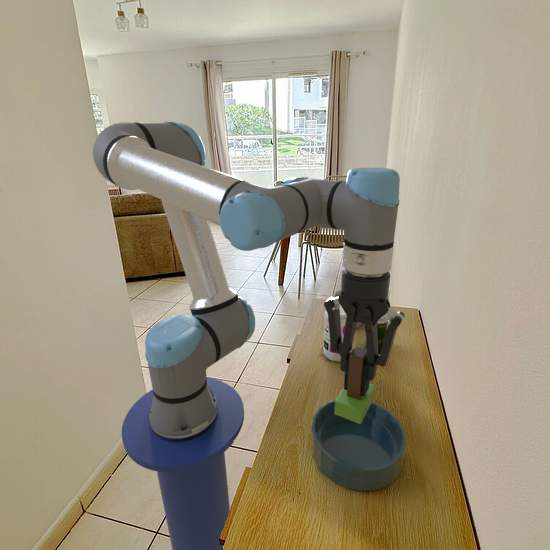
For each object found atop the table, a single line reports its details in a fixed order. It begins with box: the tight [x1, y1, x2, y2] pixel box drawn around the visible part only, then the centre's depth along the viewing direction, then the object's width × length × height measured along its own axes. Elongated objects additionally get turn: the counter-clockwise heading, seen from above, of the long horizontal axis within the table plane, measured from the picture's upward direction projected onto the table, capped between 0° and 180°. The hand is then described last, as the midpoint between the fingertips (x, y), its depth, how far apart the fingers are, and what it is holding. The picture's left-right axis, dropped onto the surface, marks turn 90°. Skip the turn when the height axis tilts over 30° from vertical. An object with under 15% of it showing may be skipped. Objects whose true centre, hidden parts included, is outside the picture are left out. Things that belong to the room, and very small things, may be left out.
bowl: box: [310, 399, 407, 492], centre depth 72 cm, size 18×18×6 cm
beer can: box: [364, 314, 388, 355], centre depth 103 cm, size 5×5×12 cm
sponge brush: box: [334, 345, 376, 424], centre depth 65 cm, size 8×5×12 cm, turn 148°
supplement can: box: [322, 305, 353, 363], centre depth 102 cm, size 8×8×15 cm
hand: (356, 388), depth 65 cm, fingers closed on sponge brush, 2 cm apart
